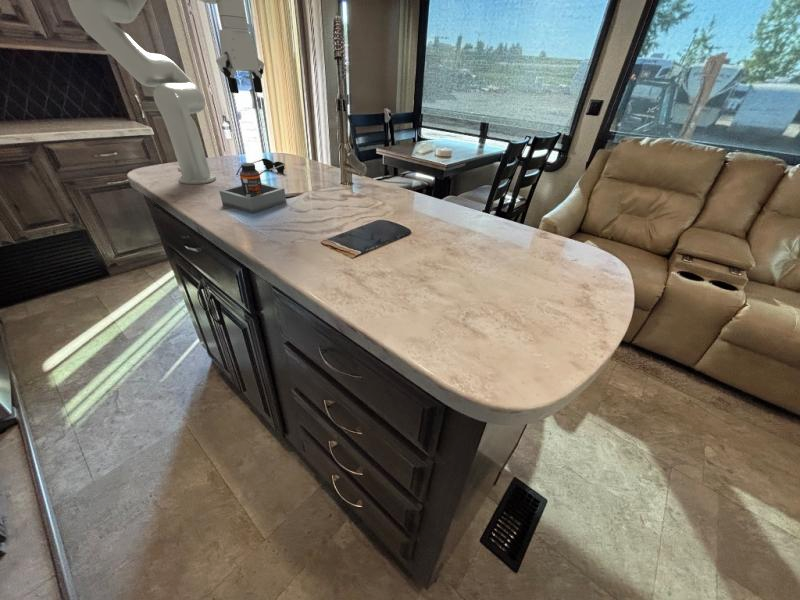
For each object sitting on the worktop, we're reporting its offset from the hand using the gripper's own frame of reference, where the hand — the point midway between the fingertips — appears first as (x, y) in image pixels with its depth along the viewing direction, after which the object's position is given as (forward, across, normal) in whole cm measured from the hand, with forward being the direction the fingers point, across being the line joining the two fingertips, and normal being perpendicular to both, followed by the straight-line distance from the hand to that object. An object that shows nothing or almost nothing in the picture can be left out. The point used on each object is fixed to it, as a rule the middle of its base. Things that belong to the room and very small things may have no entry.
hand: (247, 92), depth 108 cm
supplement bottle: (+30, +16, +13) cm, 36 cm away
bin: (+30, +16, +13) cm, 37 cm away
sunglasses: (+31, -10, -13) cm, 35 cm away
